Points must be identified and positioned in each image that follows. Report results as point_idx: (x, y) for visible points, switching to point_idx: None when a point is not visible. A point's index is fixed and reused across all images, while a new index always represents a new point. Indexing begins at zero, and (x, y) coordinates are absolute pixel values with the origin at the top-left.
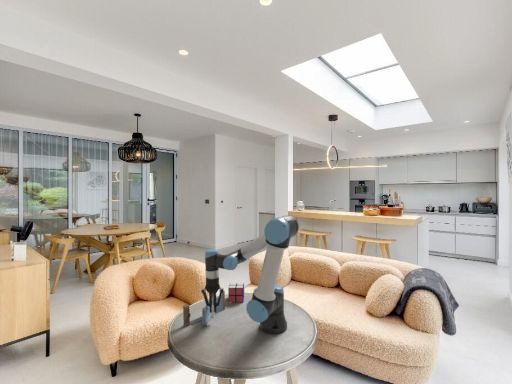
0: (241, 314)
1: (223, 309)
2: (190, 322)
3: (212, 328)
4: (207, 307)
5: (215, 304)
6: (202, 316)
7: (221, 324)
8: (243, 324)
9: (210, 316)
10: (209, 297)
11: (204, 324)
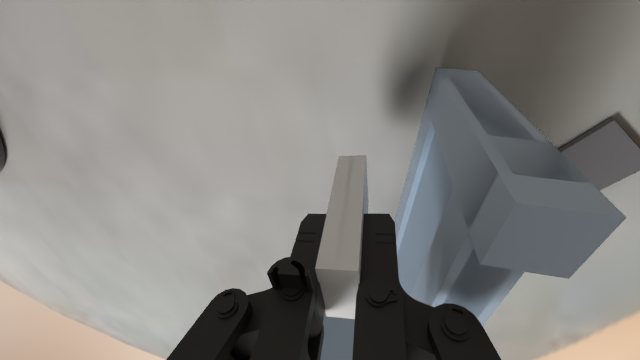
0: (192, 247)
1: None
2: (618, 163)
3: (350, 48)
4: (443, 287)
5: (271, 321)
6: (523, 117)
7: (279, 129)
8: (107, 127)
9: (396, 226)
10: None
11: (453, 72)
